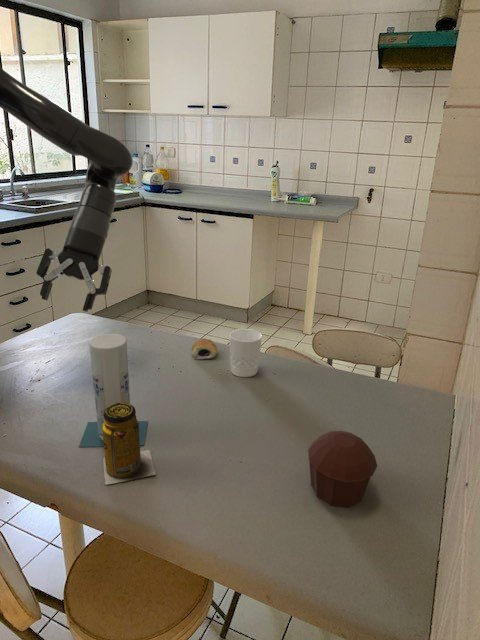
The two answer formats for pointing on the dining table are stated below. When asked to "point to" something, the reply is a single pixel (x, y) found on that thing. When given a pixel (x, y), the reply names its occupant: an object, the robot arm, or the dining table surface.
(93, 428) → the mat
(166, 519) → the dining table surface
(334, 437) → the muffin
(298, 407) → the dining table surface
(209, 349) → the pastry
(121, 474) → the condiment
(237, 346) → the white cup
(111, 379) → the spray can
